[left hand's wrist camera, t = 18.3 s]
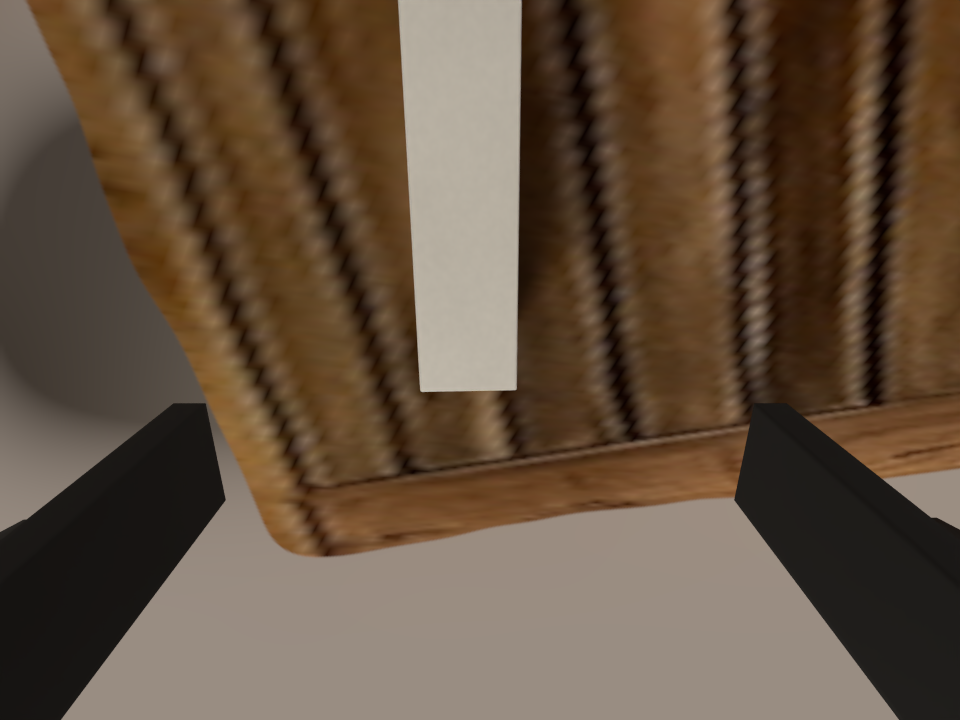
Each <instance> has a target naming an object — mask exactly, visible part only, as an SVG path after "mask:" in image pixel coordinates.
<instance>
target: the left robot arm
mask: <svg viewBox="0 0 960 720" xmlns="http://www.w3.org/2000/svg"><path fill="white" fill-rule="evenodd" d="M225 500H226V499H225V495H224V490H223V485H222V480H221V475H220V470H219V466H218V461H217V456H216V451H215V446H214V441H213V437H212V432H211V427H210V422H209V417H208V413H207V408H206V404H205V403H174V404H172V405H171V406H170V407H169V408H167V409H166V410H165V411H163V412H162V413H161V414H160V415H158V416H157V417H156V418H155V419H153V420H152V421H151V422H149V423H148V424H147V425H146V426H144V427H143V428H142V429H141V430H139V431H138V432H137V433H136V434H134V435H133V436H132V437H131V438H129V439H128V440H127V441H125V442H124V443H123V444H122V445H120V446H119V447H118V448H117V449H115V450H114V451H113V452H112V453H110V454H109V455H108V456H106V457H105V458H104V459H103V460H101V461H100V462H99V463H98V464H96V465H95V466H94V467H93V468H91V469H90V470H89V471H88V472H86V473H85V474H84V475H82V476H81V477H80V478H79V479H77V480H76V481H75V482H74V483H72V484H71V485H70V486H69V487H67V488H66V489H65V490H64V491H62V492H61V493H60V494H58V495H57V496H56V497H55V498H53V499H52V500H51V501H50V502H48V503H47V504H46V505H45V506H43V507H42V508H41V509H39V510H38V511H37V512H36V513H34V514H33V515H32V516H31V517H29V518H28V519H27V520H22V521H20V522H18V523H17V524H15V525H13V526H11V527H9V528H7V529H5V530H3V531H1V532H0V720H61V719H62V718H63V716H64V715H65V713H66V712H67V711H68V709H69V708H70V707H71V706H72V704H73V703H74V702H75V700H76V699H77V698H78V696H79V695H80V694H81V692H82V691H83V689H84V688H85V687H86V685H87V684H88V683H89V682H90V680H91V679H92V677H93V676H94V675H95V674H96V672H97V671H98V670H99V668H100V667H101V666H102V664H103V663H104V662H105V660H106V659H107V658H108V656H109V655H110V654H111V652H112V651H113V650H114V648H115V647H116V645H117V644H118V643H119V642H120V640H121V639H122V638H123V636H124V635H125V633H126V632H127V631H128V630H129V628H130V627H131V626H132V624H133V623H134V622H135V620H136V619H137V618H138V616H139V615H140V614H141V612H142V611H143V610H144V608H145V607H146V606H147V604H148V603H149V602H150V600H151V599H152V598H153V596H154V595H155V593H156V592H157V591H158V590H159V588H160V587H161V586H162V584H163V583H164V582H165V580H166V579H167V578H168V576H169V575H170V574H171V572H172V571H173V570H174V568H175V567H176V566H177V564H178V563H179V562H180V560H181V559H182V558H183V556H184V555H185V554H186V552H187V551H188V550H189V548H190V547H191V545H192V544H193V543H194V542H195V540H196V539H197V538H198V536H199V535H200V534H201V532H202V531H203V530H204V528H205V527H206V526H207V524H208V523H209V522H210V520H211V519H212V518H213V516H214V515H215V514H216V512H217V511H218V510H219V508H220V507H221V506H222V504H223V503H224V502H225ZM734 500H735V502H736V503H737V504H738V506H739V507H740V508H741V510H742V511H743V512H744V514H745V515H746V516H747V518H748V519H749V520H750V522H751V523H752V524H753V526H754V527H755V528H756V530H757V531H758V532H759V534H760V535H761V536H762V538H763V539H764V540H765V542H766V543H767V544H768V546H769V547H770V548H771V550H772V551H773V552H774V554H775V555H776V556H777V558H778V559H779V560H780V562H781V563H782V564H783V566H784V567H785V568H786V570H787V571H788V572H789V574H790V575H791V576H792V578H793V579H794V580H795V582H796V583H797V584H798V585H799V587H800V588H801V590H802V591H803V592H804V594H805V595H806V596H807V598H808V599H809V600H810V602H811V603H812V604H813V606H814V607H815V608H816V610H817V611H818V612H819V614H820V615H821V616H822V618H823V619H824V620H825V621H826V623H827V624H828V626H829V627H830V628H831V630H832V631H833V632H834V633H835V635H836V636H837V638H838V639H839V640H840V642H841V643H842V644H843V645H844V647H845V648H846V650H847V651H848V652H849V654H850V655H851V656H852V658H853V659H854V660H855V662H856V663H857V664H858V666H859V667H860V668H861V670H862V671H863V672H864V674H865V675H866V676H867V678H868V679H869V680H870V681H871V683H872V684H873V685H874V687H875V688H876V690H877V691H878V692H879V694H880V695H881V696H882V697H883V699H884V700H885V702H886V703H887V704H888V706H889V707H890V708H891V710H892V711H893V712H894V713H895V715H896V716H897V718H898V719H899V720H960V530H959V529H957V528H955V527H953V526H952V525H950V524H948V523H946V522H944V521H942V520H940V519H938V518H931V517H929V516H928V515H927V514H926V513H924V512H923V511H922V510H921V509H919V508H918V507H917V506H915V505H914V504H913V503H912V502H910V501H909V500H908V499H907V498H905V497H904V496H903V495H902V494H900V493H899V492H898V491H897V490H895V489H894V488H893V487H891V486H890V485H889V484H888V483H886V482H885V481H884V480H883V479H881V478H880V477H879V476H878V475H876V474H875V473H874V472H872V471H871V470H870V469H869V468H867V467H866V466H865V465H864V464H862V463H861V462H860V461H859V460H857V459H856V458H855V457H854V456H852V455H851V454H850V453H848V452H847V451H846V450H845V449H843V448H842V447H841V446H840V445H838V444H837V443H836V442H835V441H833V440H832V439H831V438H829V437H828V436H827V435H826V434H824V433H823V432H822V431H821V430H819V429H818V428H817V427H816V426H814V425H813V424H812V423H811V422H809V421H808V420H807V419H805V418H804V417H803V416H802V415H800V414H799V413H798V412H797V411H795V410H794V409H793V408H792V407H790V406H789V405H788V404H786V403H754V408H753V413H752V417H751V422H750V427H749V432H748V437H747V441H746V446H745V451H744V456H743V461H742V466H741V470H740V475H739V480H738V485H737V490H736V494H735V499H734Z"/></svg>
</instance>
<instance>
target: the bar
mask: <svg viewBox="0 0 960 720" xmlns="http://www.w3.org/2000/svg"><path fill="white" fill-rule="evenodd" d="M398 8H399V25H400V43H401V61H402V78H403V96H404V113H405V131H406V149H407V166H408V184H409V201H410V219H411V237H412V254H413V272H414V289H415V307H416V324H417V342H418V360H419V377H420V391H421V392H433V391H488V390H516V389H517V330H518V255H519V180H520V105H521V30H522V0H398Z"/></svg>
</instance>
